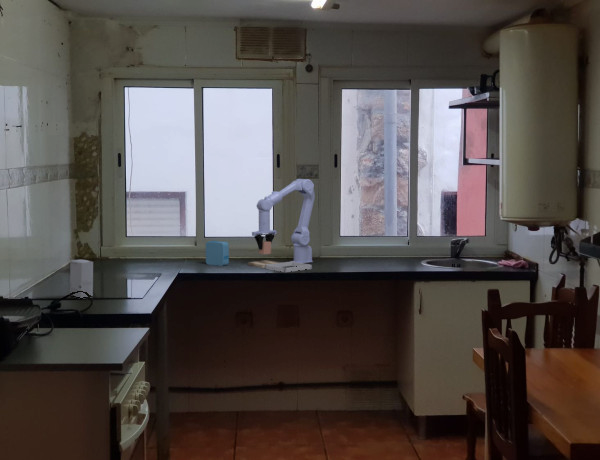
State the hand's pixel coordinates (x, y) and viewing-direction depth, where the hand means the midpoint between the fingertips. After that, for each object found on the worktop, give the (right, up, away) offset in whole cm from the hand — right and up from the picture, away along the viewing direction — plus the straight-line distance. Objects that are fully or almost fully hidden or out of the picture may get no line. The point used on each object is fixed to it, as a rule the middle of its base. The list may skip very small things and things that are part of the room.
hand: (264, 249), depth 397 cm
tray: (+13, -10, -11) cm, 19 cm away
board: (0, -8, +1) cm, 8 cm away
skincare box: (-70, -18, -85) cm, 111 cm away
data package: (-25, -8, +4) cm, 26 cm away
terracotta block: (0, -2, 0) cm, 2 cm away
